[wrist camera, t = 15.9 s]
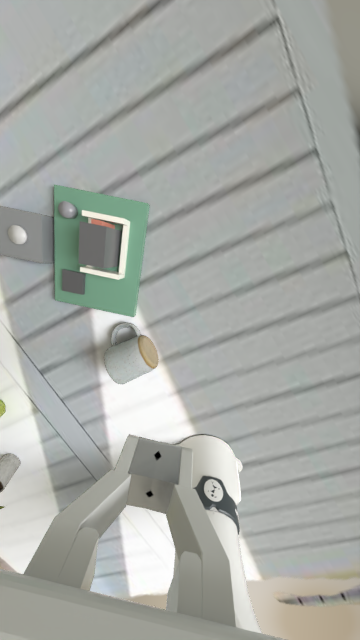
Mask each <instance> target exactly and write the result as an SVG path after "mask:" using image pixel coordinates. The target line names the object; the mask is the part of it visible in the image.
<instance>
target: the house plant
mask: <svg viewBox="0 0 360 640" xmlns="http://www.w3.org/2000/svg"><path fill="white" fill-rule="evenodd" d="M19 466H20V460H19V458H18V457H17V456H15V455H13V454H6V455H4V456H3V457H2V458H0V492H2V491H3V490H4V488H5V487H6V485H7V484H8V482H9V481H10V479H11V478H12V476H13V475H14V473H15V472H16V470H17V469H18V467H19ZM2 508H4V507H3V506H0V509H2Z"/></svg>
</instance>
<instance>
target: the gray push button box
mask: <svg viewBox="0 0 360 640" xmlns="http://www.w3.org/2000/svg"><path fill="white" fill-rule="evenodd" d="M0 255H4V256H9V257H14V258H19V259H23V260H28V261H33V262H38V263H54V218H53V217H50V216H46V215H42V214H37V213H32V212H27V211H22V210H18V209H13V208H8V207H3V206H0Z"/></svg>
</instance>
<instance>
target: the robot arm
mask: <svg viewBox="0 0 360 640" xmlns="http://www.w3.org/2000/svg"><path fill="white" fill-rule="evenodd" d="M241 470H242V463H241V461H240V460H239V459H237V458H236V457H235V455H234V453H233V451H232V449H231V448H230V446H229V445H228V444H227V443H225V442H224V441H223V440H221V439H219V438H216V437H213V436H207V435H198V436H193V437H190V438H188V439H186V440H184V441H183V442H181V443H180V444H176V445H173V444H168V443H164V442H157V441H154V440H150V439H146V438H142V437H138V436H134V435H130V434H129V436H128V437H127V439H126V442H125V445H124V447H123V450H122V452H121V455H120V457H119V460H118V462H117V465H116V468H115V470H110V471H109V472H108V473H106V474H105V475H104V476H103V477H102V478H101V479H99V480H98V481H97V482H96V483H95V484H94V485H92V486H91V487H90V488H89V489H88V490H87V491H85V492H84V493H83V494H82V495H81V496H79V497H78V498H77V499H76V500H75V501H74V502H72V503H71V504H70V505H69V506H68V507H67V508H65V509H64V510H63V511H62V512H61V513H60V514H58V515H57V516H56V517H55V518H54V520H53V522H52V523H51V525H50V527H49V529H48V531H47V532H46V534H45V536H44V538H43V540H42V541H41V543H40V545H39V547H38V549H37V550H36V552H35V554H34V556H33V558H32V560H31V561H30V563H29V565H28V567H27V569H26V570H25V572H24V574H19V573H15V572H11V571H7V570H3V569H0V640H286V639H282V638H278V637H274V636H269V635H266V634H262V631H261V629H260V626H259V624H258V621H257V619H256V616H255V613H254V610H253V607H252V603H251V600H250V596H249V593H248V588H247V583H246V578H245V573H244V568H243V562H242V557H241V551H240V544H239V538H238V535H239V516H238V512H237V506H236V505H238V503H239V501H240V500H241V492H240V483H239V475H238V474H239V473H240V472H241ZM126 505H131V506H136V507H141V508H147V509H150V510H153V511H157V512H161V513H164V514H166V516H167V520H168V524H169V527H170V531H171V534H172V538H173V542H174V545H175V562H174V574H173V579H172V582H171V585H170V588H169V591H168V595H167V606H166V610H165V609H160V608H157V607H153V606H148V605H144V604H140V603H136V602H132V601H128V600H124V599H120V598H116V597H112V596H108V595H104V594H100V593H96V592H92V591H90V587H91V584H92V581H93V578H94V574H95V565H96V556H97V547H98V540H99V538H100V537H101V536H102V535H103V534H104V532H105V531H106V530H107V529H108V527H109V526H110V525H111V524H112V523H113V521H114V520H115V519H116V518H117V517H118V515H119V514H120V513H121V512H122V510H123V509H124V508H125V507H126Z"/></svg>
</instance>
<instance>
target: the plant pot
mask: <svg viewBox="0 0 360 640" xmlns="http://www.w3.org/2000/svg"><path fill="white" fill-rule="evenodd" d="M4 413H5V404H4V403H3V402H2V401H1V400H0V417H1V416H2V415H3V414H4Z"/></svg>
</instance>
